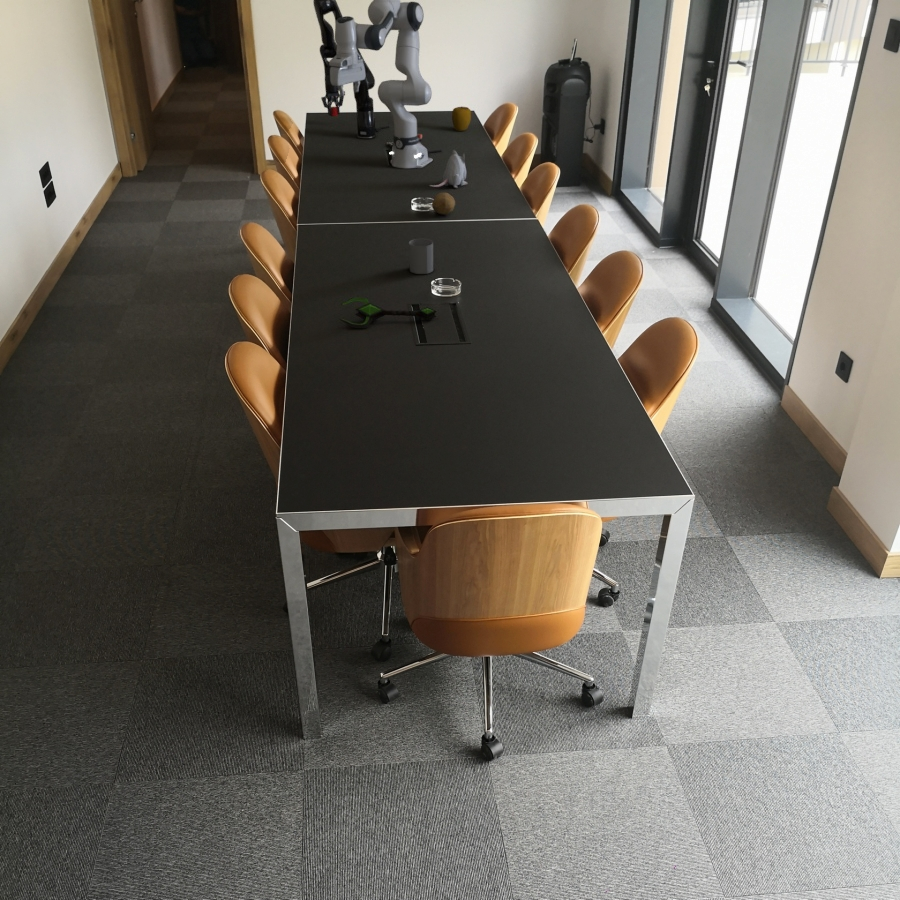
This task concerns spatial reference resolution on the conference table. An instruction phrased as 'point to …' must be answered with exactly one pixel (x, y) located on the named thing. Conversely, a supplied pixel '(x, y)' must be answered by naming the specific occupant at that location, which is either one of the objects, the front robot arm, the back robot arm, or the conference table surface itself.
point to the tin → (334, 111)
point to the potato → (443, 203)
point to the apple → (461, 118)
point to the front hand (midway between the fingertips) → (349, 93)
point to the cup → (421, 256)
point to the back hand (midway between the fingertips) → (333, 114)
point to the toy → (454, 171)
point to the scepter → (383, 312)
